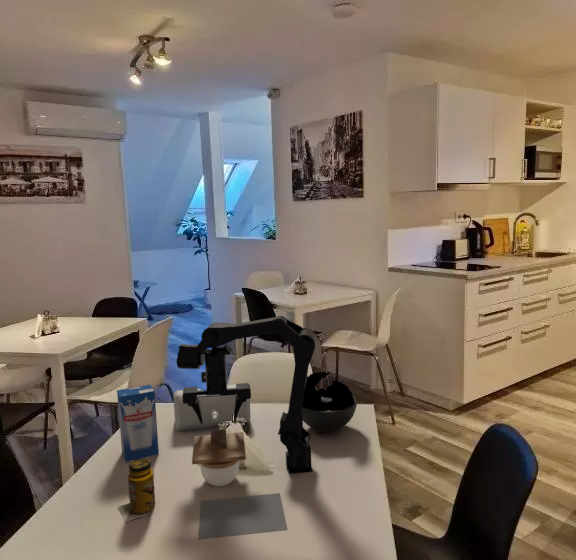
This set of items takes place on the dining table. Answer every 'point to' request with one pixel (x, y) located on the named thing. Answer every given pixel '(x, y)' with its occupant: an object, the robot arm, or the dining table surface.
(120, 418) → the milk carton
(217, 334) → the robot arm
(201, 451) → the lid
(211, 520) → the mat
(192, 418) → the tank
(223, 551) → the dining table surface
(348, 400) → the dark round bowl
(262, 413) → the dining table surface
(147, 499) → the condiment
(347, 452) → the dining table surface
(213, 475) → the lidded jar
